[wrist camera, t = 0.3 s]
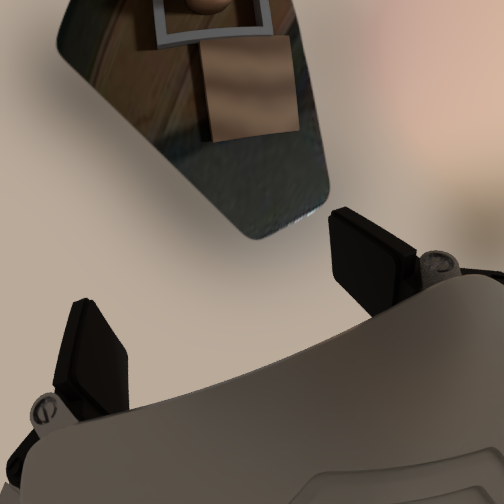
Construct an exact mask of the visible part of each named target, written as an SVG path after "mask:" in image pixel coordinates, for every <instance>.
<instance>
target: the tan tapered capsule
mask: <svg viewBox="0 0 504 504" xmlns="http://www.w3.org/2000/svg"><path fill="white" fill-rule="evenodd" d="M185 1H186V4H187V5H188V7H189V8H190V9H191V10H193V11H194V12H196V13H199V14H204V15H212V14H216V13H219V12H221V11H223V10H224V9H225V8H226V7H227V6H228V5H229V3H230V2H231V1H232V0H185Z"/></svg>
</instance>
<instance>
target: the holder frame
mask: <svg viewBox="0 0 504 504" xmlns="http://www.w3.org/2000/svg"><path fill="white" fill-rule="evenodd" d="M152 1H153V12H154V23H155V32H156V41H157V50H158V49H164V48H169V47H175V46H181V45H188V44H196V43H199V41H204V40H214V39H225V38H241V37H270V36H272V35H273V28H272V21H271V14H270V8H269V1H268V0H253V6H254V13H255V20H256V27H232V28H217V29H206V30H197V31H189V32H182V33H175V34H169V35H167V33H166V24H165V15H164V4H163V0H152Z"/></svg>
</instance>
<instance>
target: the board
mask: <svg viewBox="0 0 504 504" xmlns="http://www.w3.org/2000/svg"><path fill="white" fill-rule="evenodd" d="M198 45H199V53H200V61H201V68H202V76H203V83H204V91H205V98H206V105H207V112H208V119H209V126H210V133H211V139H212V142H219V141H225V140H231V139H237V138H243V137H250V136H257V135H264V134H272V133H280V132H289V131H298V130H299V120H298V110H297V99H296V90H295V80H294V71H293V63H292V55H291V47H290V40H289V36H280V35H272V36H270V37H241V38H225V39H214V40H204V41H199V43H198Z"/></svg>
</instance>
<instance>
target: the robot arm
mask: <svg viewBox="0 0 504 504" xmlns="http://www.w3.org/2000/svg"><path fill="white" fill-rule="evenodd" d="M328 223H329V234H330V245H331V257H332V271H333V276H334V278H335V280H336V281H337V282H338V283H339V284H340V285H341V286H342V287H343V288H344V289H345V290H346V291H347V292H348V293H349V294H350V295H351V296H352V297H353V298H354V299H355V300H356V301H357V302H358V303H359V304H360V305H361V306H362V307H363V308H364V309H365V310H366V311H367V312H368V314H369V315H370V316H371V317H372V318H370V319H368V320H366V321H364V322H362V323H360V324H358V325H356V326H354V327H352V328H350V329H348V330H347V331H344V332H342V333H340V334H338V335H336V336H334V337H331V338H330V339H327V340H325V341H323V342H321V343H319V344H316V345H314V346H312V347H310V348H307V349H305V350H303V351H300V352H298V353H296V354H294V355H291V356H289V357H286V358H284V359H282V360H279V361H277V362H274V363H272V364H269V365H267V366H264V367H262V368H259V369H256V370H254V371H251V372H249V373H246V374H243V375H241V376H238V377H235V378H232V379H230V380H227V381H224V382H221V383H218V384H215V385H212V386H209V387H206V388H204V389H200V390H197V391H194V392H191V393H188V394H185V395H181V396H178V397H175V398H171V399H168V400H164V401H161V402H157V403H154V404H150V405H147V406H142V407H139V408H135V409H131V410H129V393H128V392H129V390H128V355H127V352H126V350H125V348H124V347H123V345H122V344H121V342H120V341H119V339H118V338H117V336H116V335H115V333H114V332H113V331H112V329H111V328H110V326H109V324H108V323H107V321H106V320H105V318H104V316H103V315H102V313H101V312H100V310H99V308H98V307H97V306H96V303H95V302H94V301H93V300H89V299H88V298H84V299H81V300H79V301H76V302H73V305H72V307H71V311H70V314H69V317H68V321H67V325H66V328H65V332H64V335H63V339H62V343H61V347H60V351H59V355H58V360H57V364H56V369H55V374H54V379H53V386H54V387H55V392H54V393H45V394H43V395H41V396H40V397H39V398H38V399H37V400H36V401H35V402H34V404H33V406H32V408H31V412H30V421H31V423H32V425H33V427H34V429H33V430H32V431H31V432H30V433H29V435H28V436H27V437H26V438H25V439H24V441H23V442H22V443H21V444H20V445H19V447H18V448H17V449H16V450H15V452H14V453H13V454H12V455H11V457H10V458H9V460H8V461H7V466H6V474H7V477H8V480H9V484H8V483H6V482H5V484H4V486H3V489H2V491H1V494H0V504H504V273H502V272H499V271H489V270H478V269H465V268H460V267H459V264H458V262H457V260H456V259H455V258H454V257H453V256H452V255H451V254H449V253H446V252H443V251H437V250H435V251H429V252H426V253H424V254H423V255H422V256H421V257H420V258H419V257H417V256H416V253H417V252H416V251H417V250H416V249H415V248H413V247H412V246H410V245H408V244H407V243H405V242H404V241H402V240H401V239H399V238H397V237H396V236H394V235H393V234H391V233H390V232H388V231H386V230H385V229H383V228H381V227H380V226H378V225H376V224H375V223H373V222H372V221H370V220H368V219H367V218H365V217H363V216H361V215H359V214H358V213H356V212H355V211H353V210H351V209H349V208H347V207H343V208H339V209H336V210H333V211H332V212H331V215H330V216H329V217H328Z"/></svg>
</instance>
